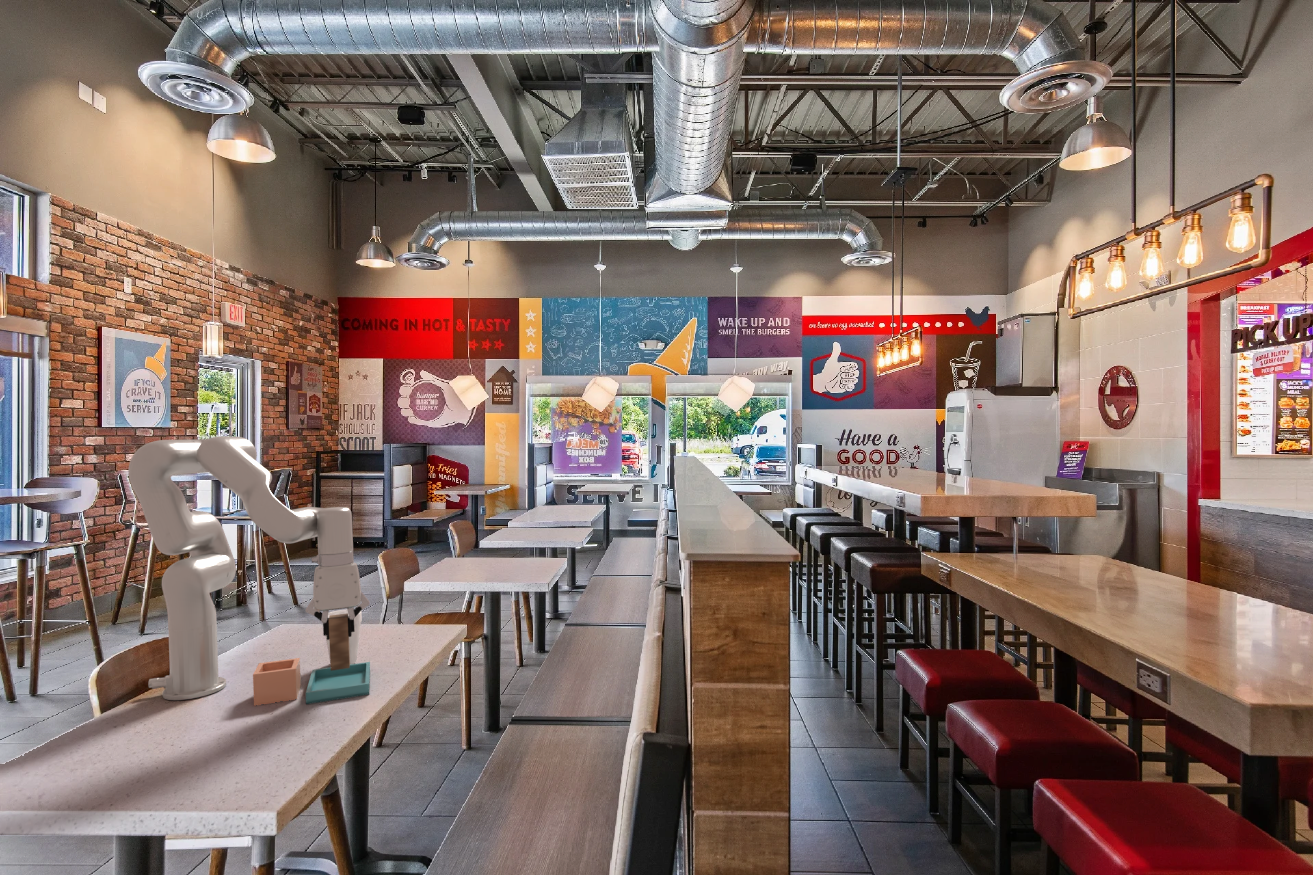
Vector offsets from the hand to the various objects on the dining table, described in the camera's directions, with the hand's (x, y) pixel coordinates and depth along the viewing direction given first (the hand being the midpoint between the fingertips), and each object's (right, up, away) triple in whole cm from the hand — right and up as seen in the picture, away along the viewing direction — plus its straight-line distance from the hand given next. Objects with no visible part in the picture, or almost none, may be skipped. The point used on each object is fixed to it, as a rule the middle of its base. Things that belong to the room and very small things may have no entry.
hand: (339, 635), depth 164 cm
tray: (0, -12, 0) cm, 12 cm away
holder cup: (-12, -12, -5) cm, 18 cm away
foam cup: (-7, -12, +18) cm, 23 cm away
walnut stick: (0, -7, 0) cm, 7 cm away
